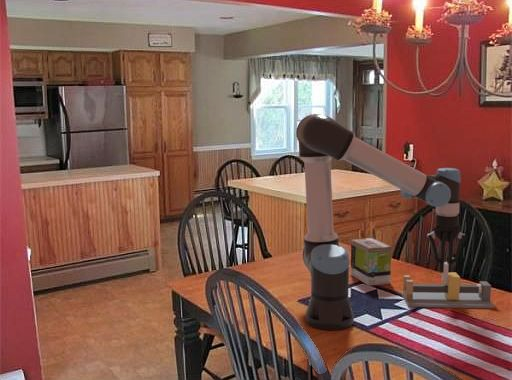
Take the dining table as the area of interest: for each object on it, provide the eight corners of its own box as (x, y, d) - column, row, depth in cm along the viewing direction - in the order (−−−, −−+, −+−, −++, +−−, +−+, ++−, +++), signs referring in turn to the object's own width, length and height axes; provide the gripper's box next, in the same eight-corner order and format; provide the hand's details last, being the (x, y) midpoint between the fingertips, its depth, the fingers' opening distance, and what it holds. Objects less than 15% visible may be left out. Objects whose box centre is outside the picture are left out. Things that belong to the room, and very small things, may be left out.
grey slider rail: (493, 308, 178) (495, 285, 177) (408, 306, 180) (408, 284, 179) (481, 295, 190) (483, 273, 188) (401, 294, 192) (402, 272, 191)
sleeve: (459, 299, 182) (460, 277, 181) (448, 299, 182) (449, 277, 181) (454, 294, 187) (455, 272, 186) (444, 294, 187) (445, 272, 186)
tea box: (391, 283, 204) (392, 246, 201) (367, 286, 201) (368, 248, 199) (372, 272, 218) (372, 236, 216) (349, 274, 215) (350, 238, 213)
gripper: (463, 211, 183) (460, 278, 187) (424, 211, 184) (422, 277, 188) (470, 216, 176) (467, 285, 180) (430, 216, 177) (427, 284, 181)
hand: (444, 281), depth 184 cm, fingers closed
